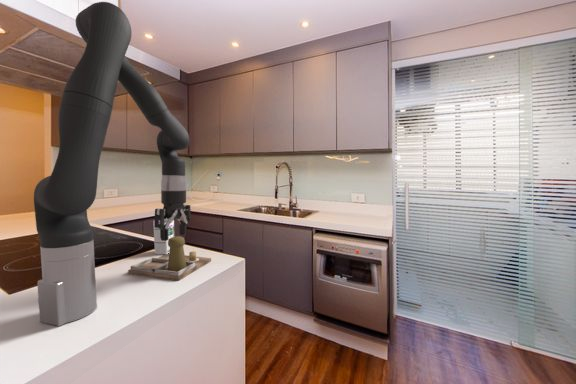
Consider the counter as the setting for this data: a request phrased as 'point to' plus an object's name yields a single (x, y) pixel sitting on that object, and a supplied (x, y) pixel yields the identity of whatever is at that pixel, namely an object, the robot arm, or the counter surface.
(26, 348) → the counter surface
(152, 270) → the board
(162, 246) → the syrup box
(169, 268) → the cork
